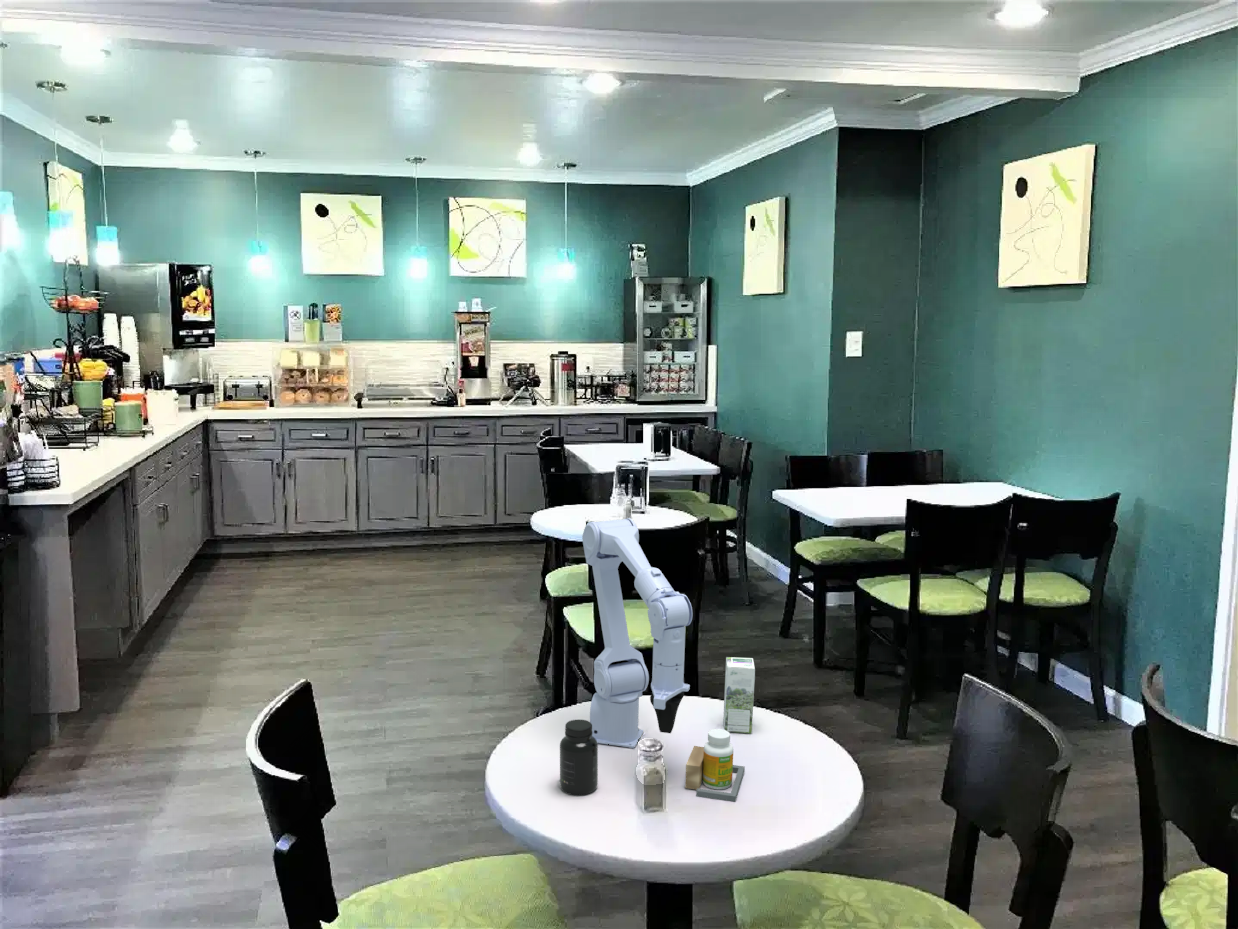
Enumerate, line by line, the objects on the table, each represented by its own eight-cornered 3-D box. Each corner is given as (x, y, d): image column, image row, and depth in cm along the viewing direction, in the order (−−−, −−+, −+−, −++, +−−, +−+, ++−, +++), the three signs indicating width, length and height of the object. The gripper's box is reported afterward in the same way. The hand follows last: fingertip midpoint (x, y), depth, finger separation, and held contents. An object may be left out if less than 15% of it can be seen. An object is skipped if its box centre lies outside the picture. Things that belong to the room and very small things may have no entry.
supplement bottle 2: (718, 793, 180) (720, 742, 179) (696, 782, 184) (698, 732, 182) (738, 784, 184) (740, 734, 182) (715, 773, 188) (717, 724, 186)
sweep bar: (685, 788, 181) (686, 764, 181) (693, 768, 189) (694, 746, 188) (698, 790, 181) (699, 766, 180) (706, 770, 188) (707, 747, 188)
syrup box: (750, 722, 211) (753, 656, 208) (752, 734, 205) (755, 667, 202) (723, 721, 211) (725, 655, 209) (724, 733, 205) (726, 665, 203)
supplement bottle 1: (579, 774, 186) (580, 713, 184) (605, 788, 181) (606, 725, 179) (551, 786, 181) (552, 723, 179) (576, 800, 176) (578, 736, 175)
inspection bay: (696, 796, 179) (696, 791, 179) (707, 766, 190) (707, 761, 190) (735, 801, 177) (735, 796, 177) (744, 771, 189) (744, 766, 189)
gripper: (682, 677, 175) (679, 751, 177) (697, 650, 189) (694, 718, 191) (642, 673, 177) (640, 745, 179) (660, 645, 190) (658, 713, 193)
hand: (666, 731), depth 185 cm, fingers closed
